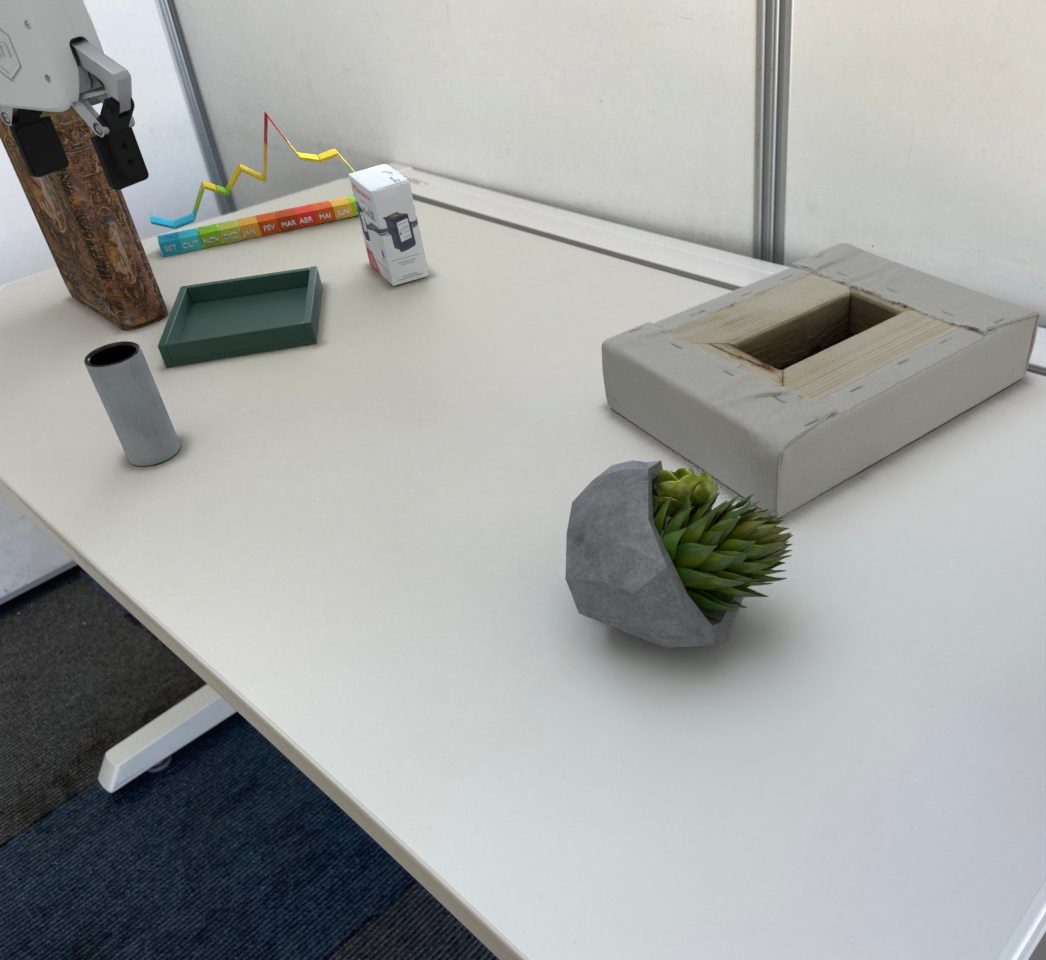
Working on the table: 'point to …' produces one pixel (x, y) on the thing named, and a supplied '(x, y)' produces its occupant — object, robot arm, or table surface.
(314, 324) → the tray
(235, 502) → the table surface
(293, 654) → the table surface
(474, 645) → the table surface
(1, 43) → the robot arm
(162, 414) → the gray hollow cylinder
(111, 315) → the book
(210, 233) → the chart
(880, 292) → the box
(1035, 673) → the table surface
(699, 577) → the potted plant
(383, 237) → the ink box
